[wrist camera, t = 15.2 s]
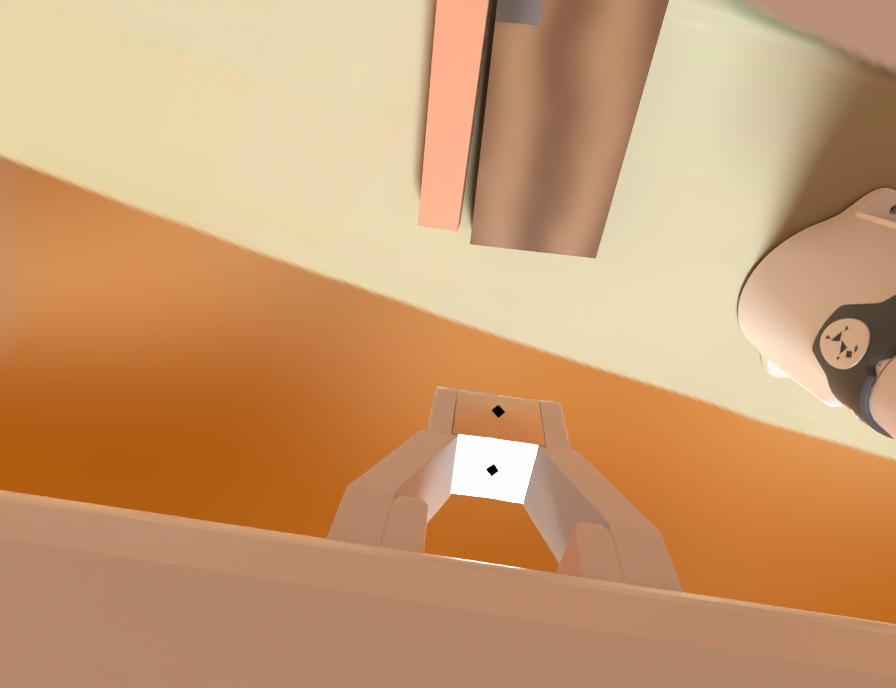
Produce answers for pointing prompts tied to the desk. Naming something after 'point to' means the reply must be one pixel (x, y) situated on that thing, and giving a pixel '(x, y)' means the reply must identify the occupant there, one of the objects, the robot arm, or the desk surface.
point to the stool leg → (451, 109)
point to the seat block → (560, 119)
